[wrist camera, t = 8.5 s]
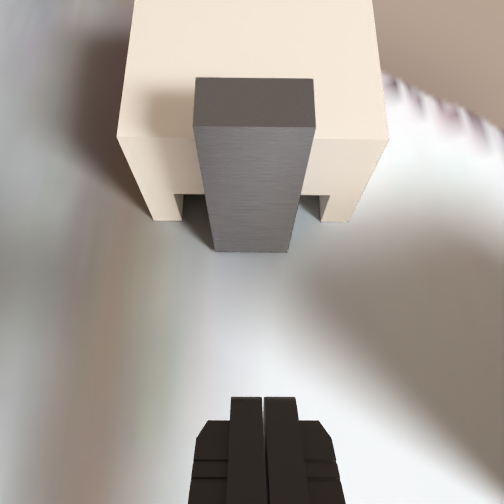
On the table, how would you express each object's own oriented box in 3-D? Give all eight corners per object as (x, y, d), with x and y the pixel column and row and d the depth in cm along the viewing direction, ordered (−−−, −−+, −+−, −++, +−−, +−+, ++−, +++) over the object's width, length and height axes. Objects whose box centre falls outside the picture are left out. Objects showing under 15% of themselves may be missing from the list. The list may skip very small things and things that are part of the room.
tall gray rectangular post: (308, 252, 31) (353, 127, 18) (193, 251, 31) (155, 125, 18) (301, 80, 37) (331, -110, 24) (202, 79, 37) (178, -112, 24)
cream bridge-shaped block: (348, 222, 33) (389, 139, 23) (153, 220, 32) (116, 136, 23) (338, 102, 36) (370, -10, 27) (164, 100, 36) (136, -13, 27)
